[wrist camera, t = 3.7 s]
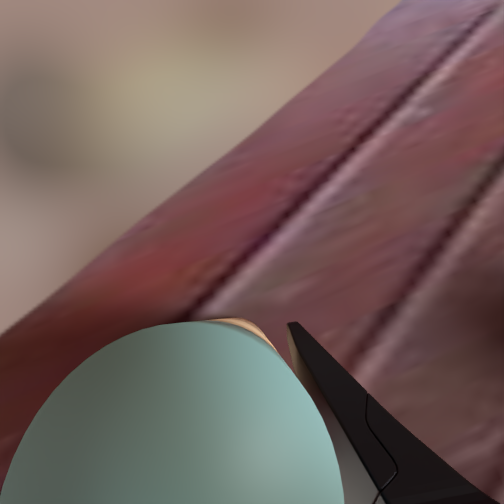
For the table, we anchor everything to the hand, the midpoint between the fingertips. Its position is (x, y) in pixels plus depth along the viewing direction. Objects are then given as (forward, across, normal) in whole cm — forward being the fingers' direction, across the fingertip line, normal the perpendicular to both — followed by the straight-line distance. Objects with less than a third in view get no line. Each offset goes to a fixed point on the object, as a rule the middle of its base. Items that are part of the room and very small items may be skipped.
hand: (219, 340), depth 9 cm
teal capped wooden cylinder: (+4, 0, +6) cm, 7 cm away
